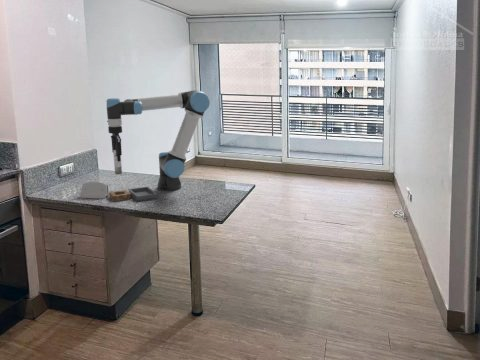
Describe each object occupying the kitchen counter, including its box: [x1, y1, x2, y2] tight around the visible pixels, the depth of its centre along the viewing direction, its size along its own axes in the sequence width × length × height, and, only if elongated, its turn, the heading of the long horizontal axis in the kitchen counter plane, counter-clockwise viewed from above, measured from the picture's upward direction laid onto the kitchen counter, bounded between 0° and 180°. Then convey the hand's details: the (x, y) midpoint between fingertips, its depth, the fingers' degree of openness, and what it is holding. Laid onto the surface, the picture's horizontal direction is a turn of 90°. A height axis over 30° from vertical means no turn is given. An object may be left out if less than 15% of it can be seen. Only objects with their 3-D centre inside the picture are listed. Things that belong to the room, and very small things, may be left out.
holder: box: [108, 189, 132, 202], centre depth 272 cm, size 10×10×3 cm
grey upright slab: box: [79, 181, 110, 199], centre depth 275 cm, size 17×5×10 cm, turn 84°
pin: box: [112, 150, 123, 176], centre depth 267 cm, size 4×4×14 cm
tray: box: [128, 186, 158, 202], centre depth 275 cm, size 12×18×3 cm, turn 29°
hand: (118, 165), depth 267 cm, fingers closed on pin, 4 cm apart
